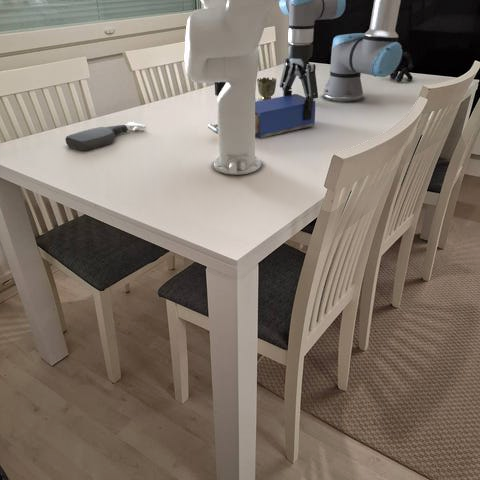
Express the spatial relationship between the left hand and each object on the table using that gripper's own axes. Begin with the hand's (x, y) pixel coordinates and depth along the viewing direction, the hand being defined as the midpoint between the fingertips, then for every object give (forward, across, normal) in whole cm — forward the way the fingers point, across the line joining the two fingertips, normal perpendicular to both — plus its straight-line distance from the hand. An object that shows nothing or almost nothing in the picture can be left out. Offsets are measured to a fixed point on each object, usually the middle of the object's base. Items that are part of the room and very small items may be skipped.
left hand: (221, 95), depth 132 cm
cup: (+13, +31, -34) cm, 47 cm away
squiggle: (+13, +30, -102) cm, 108 cm away
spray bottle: (+13, +18, +32) cm, 38 cm away
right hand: (+10, 0, -27) cm, 29 cm away
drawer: (+12, 0, -9) cm, 15 cm away
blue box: (+13, 0, -20) cm, 24 cm away
